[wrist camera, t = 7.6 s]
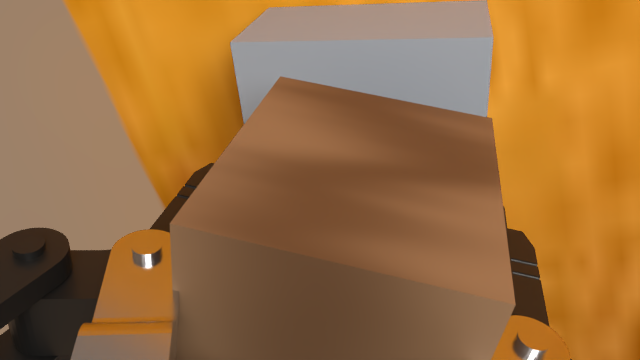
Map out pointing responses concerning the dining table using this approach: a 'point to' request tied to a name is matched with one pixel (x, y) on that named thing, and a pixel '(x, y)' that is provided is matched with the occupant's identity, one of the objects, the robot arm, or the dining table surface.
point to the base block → (372, 52)
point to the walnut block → (345, 235)
